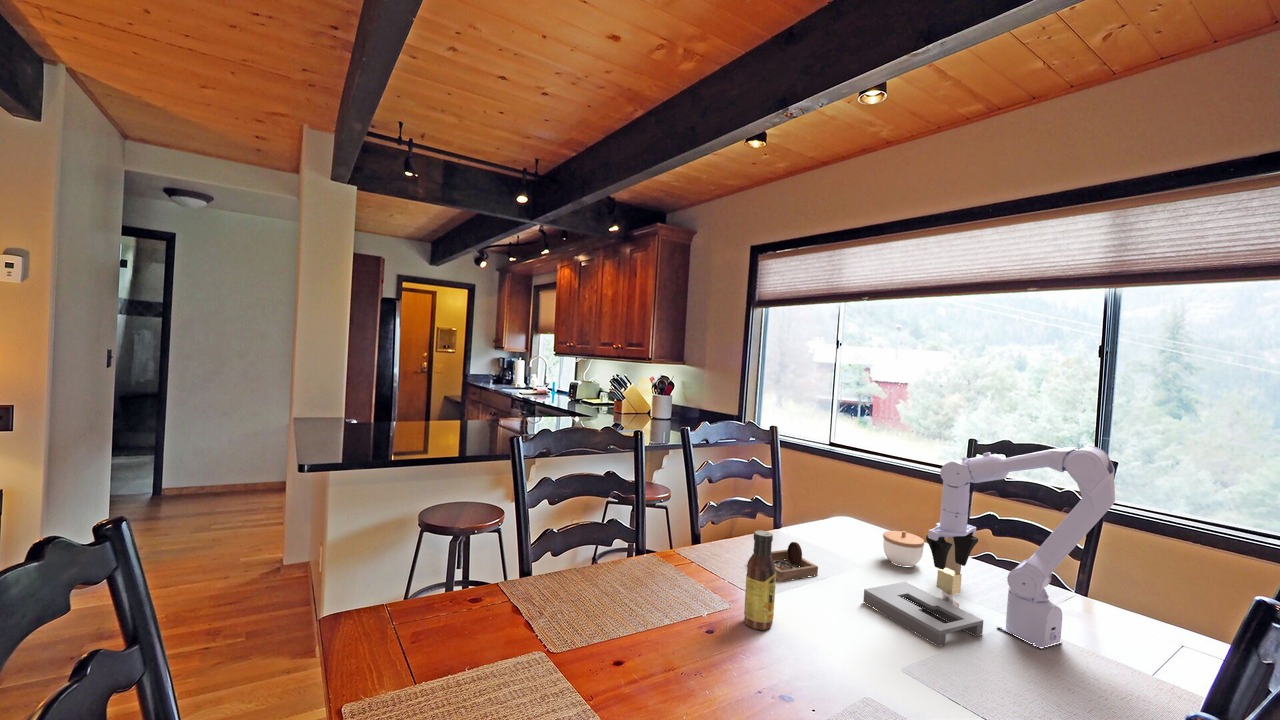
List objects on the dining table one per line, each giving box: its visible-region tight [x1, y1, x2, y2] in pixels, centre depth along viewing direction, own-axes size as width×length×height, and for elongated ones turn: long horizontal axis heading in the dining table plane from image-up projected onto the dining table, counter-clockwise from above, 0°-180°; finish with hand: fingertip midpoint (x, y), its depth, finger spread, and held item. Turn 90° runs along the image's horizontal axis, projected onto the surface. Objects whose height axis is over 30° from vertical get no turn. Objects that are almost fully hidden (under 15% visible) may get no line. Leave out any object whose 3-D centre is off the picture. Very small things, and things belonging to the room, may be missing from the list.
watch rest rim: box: [751, 549, 819, 583], centre depth 150 cm, size 12×12×2 cm
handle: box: [945, 537, 962, 574], centre depth 147 cm, size 5×6×15 cm
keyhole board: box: [863, 581, 984, 647], centre depth 126 cm, size 20×14×3 cm
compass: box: [773, 541, 803, 570], centre depth 149 cm, size 8×8×7 cm
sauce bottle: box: [743, 529, 777, 631], centre depth 119 cm, size 7×6×20 cm
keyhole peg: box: [936, 568, 962, 608], centre depth 133 cm, size 5×5×8 cm
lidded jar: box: [882, 530, 925, 567], centre depth 159 cm, size 11×11×9 cm
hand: (949, 566), depth 133 cm, fingers open, 7 cm apart
